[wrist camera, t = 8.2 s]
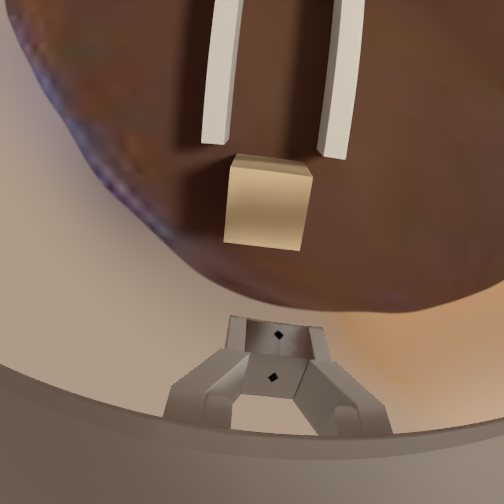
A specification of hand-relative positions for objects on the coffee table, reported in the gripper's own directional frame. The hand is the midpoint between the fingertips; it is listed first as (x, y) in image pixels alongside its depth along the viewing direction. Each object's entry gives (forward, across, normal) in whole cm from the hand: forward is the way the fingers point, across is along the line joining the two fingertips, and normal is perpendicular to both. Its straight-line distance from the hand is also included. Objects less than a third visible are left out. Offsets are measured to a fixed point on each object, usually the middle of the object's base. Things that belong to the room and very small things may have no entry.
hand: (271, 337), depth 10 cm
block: (+16, 0, -1) cm, 16 cm away
